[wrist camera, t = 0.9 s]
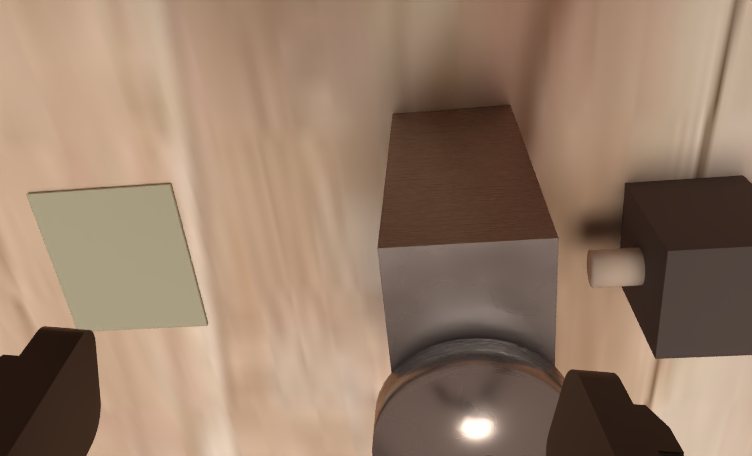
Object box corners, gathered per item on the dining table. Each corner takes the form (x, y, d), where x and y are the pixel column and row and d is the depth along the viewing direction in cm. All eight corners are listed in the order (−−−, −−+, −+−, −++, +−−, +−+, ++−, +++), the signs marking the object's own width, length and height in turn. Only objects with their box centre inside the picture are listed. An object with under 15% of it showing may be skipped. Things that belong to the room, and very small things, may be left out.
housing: (527, 103, 29) (597, 267, 17) (526, 349, 35) (577, 590, 23) (376, 115, 29) (347, 280, 18) (401, 354, 36) (391, 591, 24)
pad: (170, 183, 32) (170, 184, 31) (208, 324, 35) (207, 325, 35) (28, 193, 32) (26, 194, 32) (79, 330, 36) (77, 331, 36)
